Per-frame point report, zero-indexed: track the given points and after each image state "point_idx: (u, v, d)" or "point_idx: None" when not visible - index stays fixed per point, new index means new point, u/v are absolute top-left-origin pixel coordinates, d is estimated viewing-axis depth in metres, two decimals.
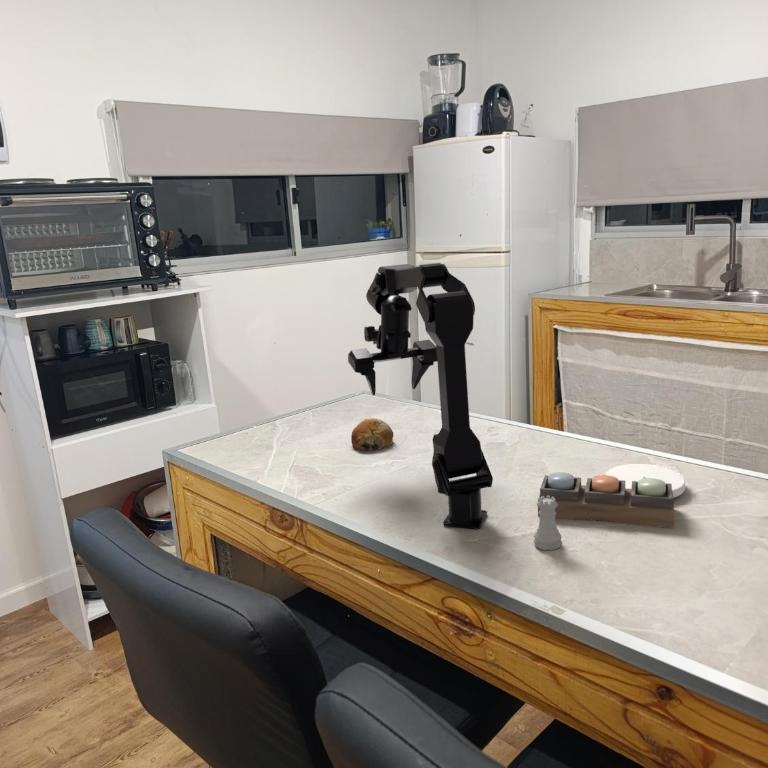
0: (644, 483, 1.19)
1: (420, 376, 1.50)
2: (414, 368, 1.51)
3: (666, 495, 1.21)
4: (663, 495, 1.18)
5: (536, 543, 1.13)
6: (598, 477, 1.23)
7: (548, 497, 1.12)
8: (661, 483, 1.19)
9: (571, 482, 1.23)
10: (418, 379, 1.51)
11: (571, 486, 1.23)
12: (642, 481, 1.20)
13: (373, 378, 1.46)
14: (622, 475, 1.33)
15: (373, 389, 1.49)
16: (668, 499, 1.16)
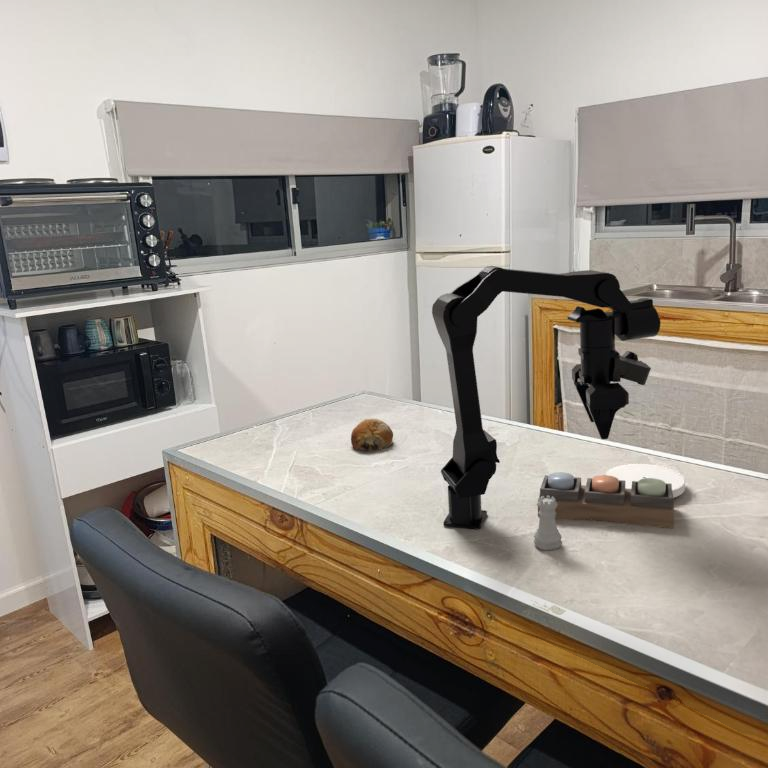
0: (644, 483, 1.19)
1: (594, 420, 1.20)
2: None
3: (666, 495, 1.21)
4: (663, 495, 1.18)
5: (536, 543, 1.13)
6: (598, 477, 1.23)
7: (548, 497, 1.12)
8: (661, 483, 1.19)
9: (571, 482, 1.23)
10: (595, 424, 1.20)
11: (571, 486, 1.23)
12: (642, 481, 1.20)
13: (579, 394, 1.30)
14: (622, 475, 1.33)
15: (586, 411, 1.30)
16: (668, 499, 1.16)
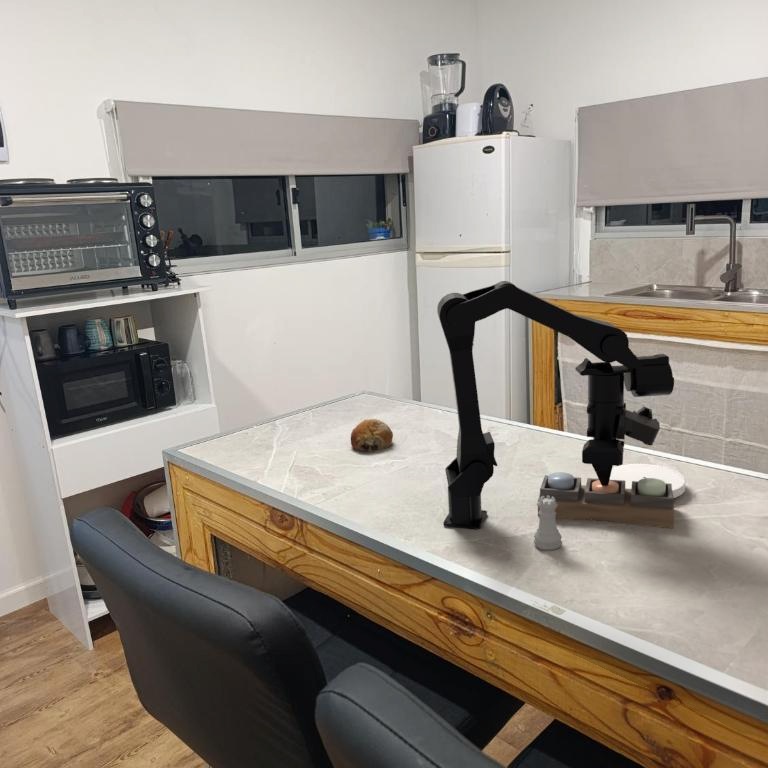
0: (644, 483, 1.19)
1: None
2: None
3: (666, 495, 1.21)
4: (663, 495, 1.18)
5: (536, 543, 1.13)
6: (598, 482, 1.23)
7: (548, 497, 1.12)
8: (661, 483, 1.19)
9: (571, 482, 1.23)
10: (595, 470, 1.21)
11: (571, 486, 1.23)
12: (642, 481, 1.20)
13: None
14: (622, 475, 1.33)
15: None
16: (668, 499, 1.16)
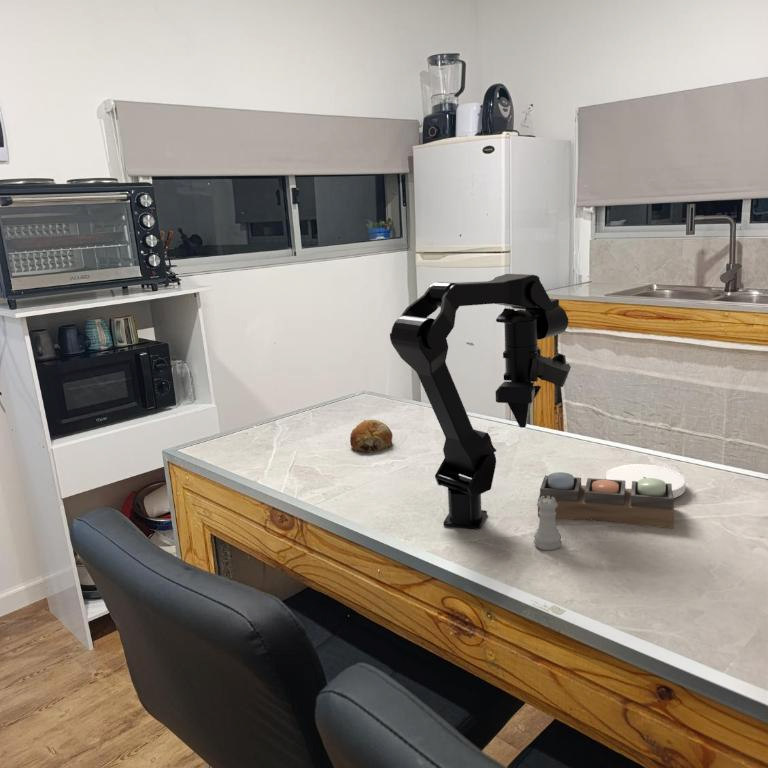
0: (644, 483, 1.19)
1: None
2: None
3: (666, 495, 1.21)
4: (663, 495, 1.18)
5: (536, 543, 1.13)
6: (598, 482, 1.23)
7: (548, 497, 1.12)
8: (661, 483, 1.19)
9: (571, 482, 1.23)
10: None
11: (571, 486, 1.23)
12: (642, 481, 1.20)
13: None
14: (623, 475, 1.32)
15: None
16: (668, 499, 1.16)
